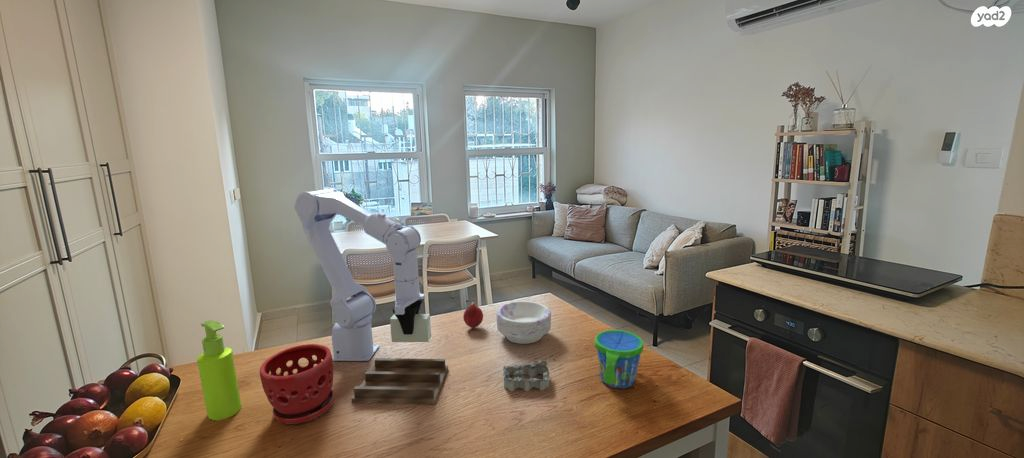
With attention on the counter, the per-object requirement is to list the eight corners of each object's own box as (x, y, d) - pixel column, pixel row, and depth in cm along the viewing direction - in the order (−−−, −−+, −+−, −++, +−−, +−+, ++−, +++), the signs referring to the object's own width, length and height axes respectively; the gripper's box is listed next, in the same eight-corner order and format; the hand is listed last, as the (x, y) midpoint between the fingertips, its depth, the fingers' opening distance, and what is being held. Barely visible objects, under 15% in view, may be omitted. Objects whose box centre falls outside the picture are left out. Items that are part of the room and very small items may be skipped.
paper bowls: (553, 349, 113) (553, 321, 111) (495, 349, 113) (494, 322, 111) (548, 324, 127) (548, 299, 126) (498, 325, 128) (497, 300, 126)
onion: (482, 332, 123) (481, 306, 121) (462, 332, 123) (461, 306, 121) (484, 324, 129) (483, 299, 127) (465, 324, 129) (464, 299, 127)
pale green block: (391, 342, 104) (389, 319, 103) (395, 336, 107) (393, 314, 105) (428, 342, 103) (426, 319, 102) (431, 336, 106) (429, 314, 105)
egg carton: (548, 374, 101) (548, 358, 100) (550, 393, 94) (550, 376, 93) (504, 374, 101) (503, 358, 101) (501, 392, 94) (501, 375, 93)
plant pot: (289, 392, 95) (282, 343, 93) (347, 392, 95) (342, 343, 92) (252, 431, 82) (243, 375, 80) (319, 432, 82) (312, 375, 79)
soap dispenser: (218, 426, 84) (201, 332, 80) (202, 414, 88) (185, 324, 84) (249, 410, 89) (235, 320, 85) (232, 400, 93) (218, 314, 88)
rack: (351, 402, 91) (350, 390, 90) (375, 368, 105) (374, 357, 104) (434, 404, 90) (434, 391, 89) (448, 369, 104) (447, 357, 103)
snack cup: (629, 406, 88) (631, 361, 86) (582, 390, 94) (582, 348, 92) (650, 371, 101) (652, 331, 99) (607, 360, 107) (608, 322, 105)
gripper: (414, 288, 94) (418, 344, 97) (429, 268, 109) (432, 318, 111) (383, 288, 95) (388, 344, 98) (402, 268, 109) (406, 318, 112)
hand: (410, 330), depth 105 cm, fingers closed on pale green block, 3 cm apart
